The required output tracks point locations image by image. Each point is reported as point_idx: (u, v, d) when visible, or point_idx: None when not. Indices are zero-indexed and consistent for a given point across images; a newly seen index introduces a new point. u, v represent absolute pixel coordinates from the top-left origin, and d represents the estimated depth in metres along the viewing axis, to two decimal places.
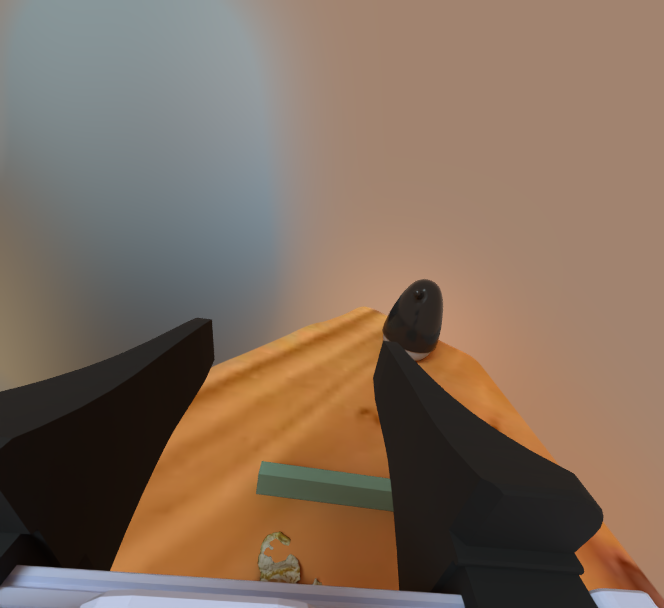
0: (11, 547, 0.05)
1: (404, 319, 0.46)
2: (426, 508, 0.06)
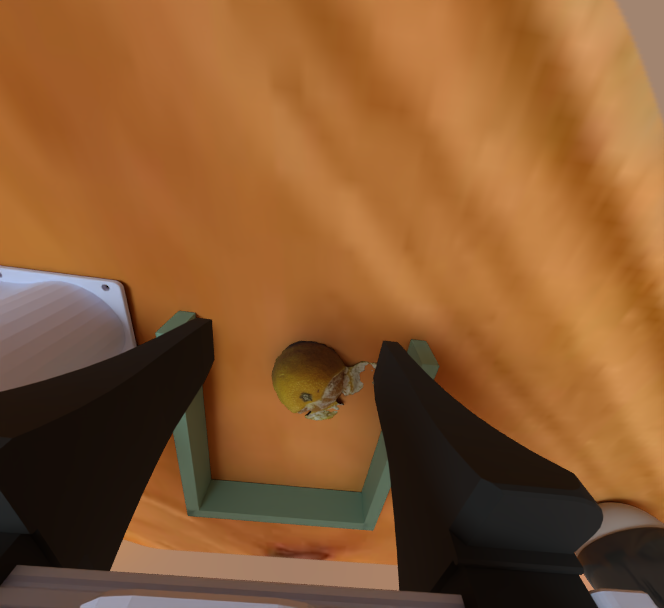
0: (11, 547, 0.05)
1: None
2: (426, 508, 0.06)
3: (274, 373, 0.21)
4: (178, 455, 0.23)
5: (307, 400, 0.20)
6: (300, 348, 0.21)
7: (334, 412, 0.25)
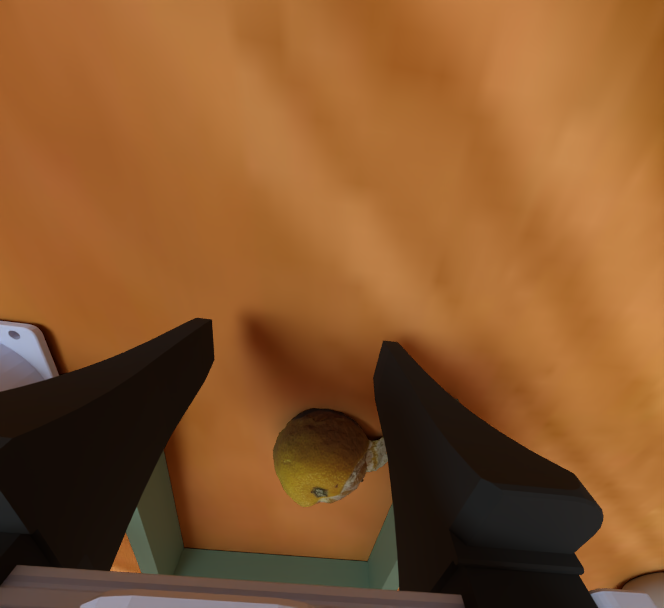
0: (11, 547, 0.05)
1: None
2: (426, 508, 0.06)
3: (277, 454, 0.16)
4: (131, 542, 0.18)
5: (320, 496, 0.15)
6: (311, 421, 0.16)
7: None
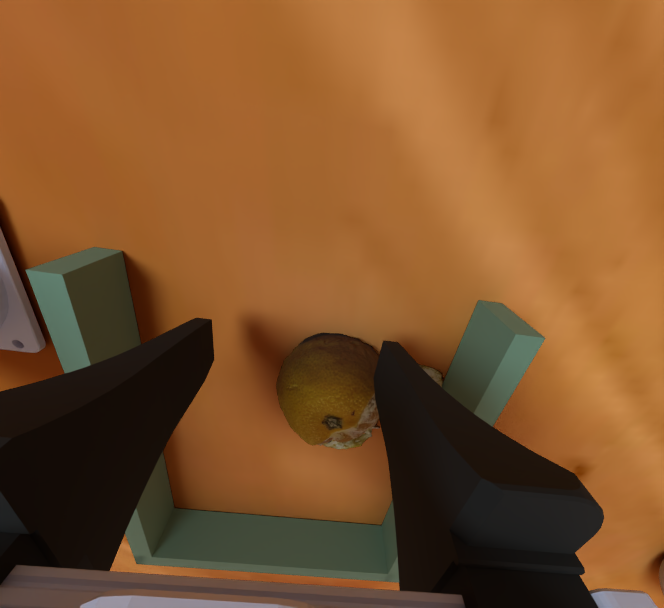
0: (11, 547, 0.05)
1: None
2: (427, 508, 0.06)
3: (281, 383, 0.13)
4: None
5: (334, 428, 0.12)
6: (322, 343, 0.13)
7: (364, 437, 0.17)
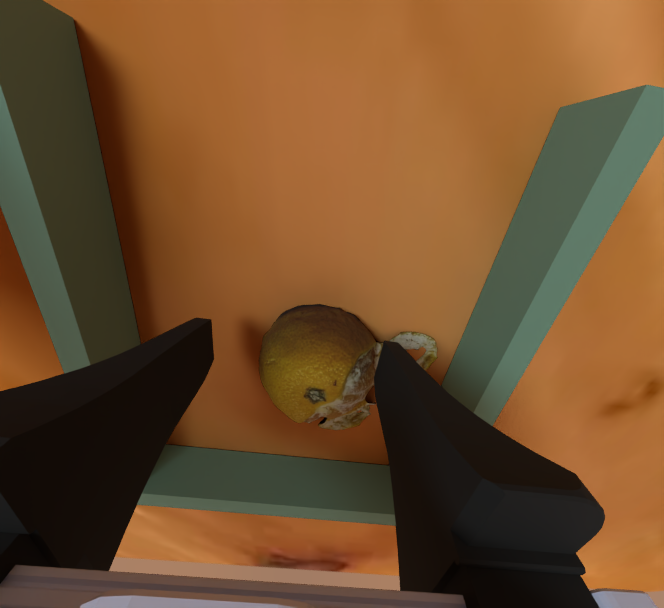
0: (10, 547, 0.05)
1: None
2: (427, 508, 0.06)
3: (260, 360, 0.13)
4: None
5: (317, 401, 0.12)
6: (299, 315, 0.12)
7: (362, 416, 0.17)
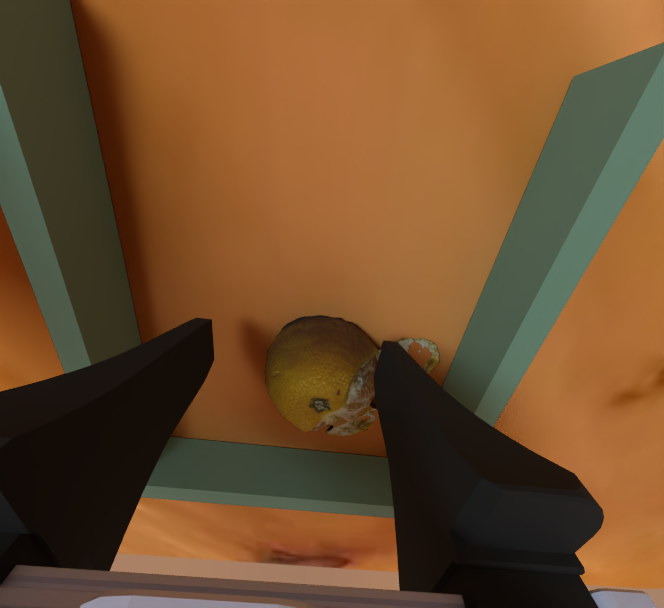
0: (11, 547, 0.05)
1: None
2: (426, 508, 0.06)
3: (266, 372, 0.13)
4: (63, 360, 0.11)
5: (322, 410, 0.12)
6: (301, 327, 0.13)
7: (369, 421, 0.17)
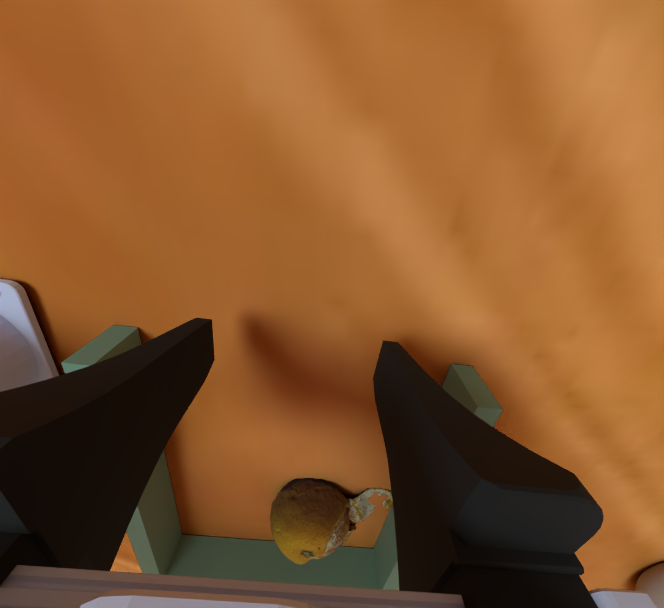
0: (11, 547, 0.05)
1: None
2: (426, 508, 0.06)
3: (271, 523, 0.19)
4: None
5: (309, 556, 0.18)
6: (294, 493, 0.19)
7: (348, 533, 0.23)
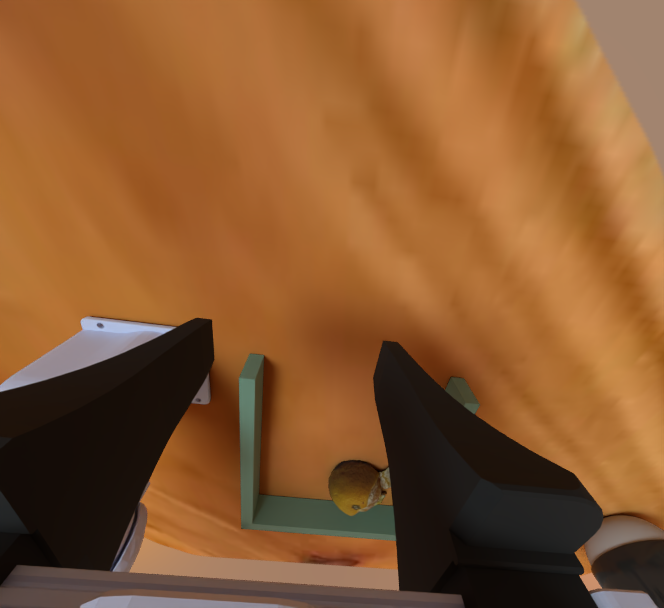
0: (11, 547, 0.05)
1: None
2: (426, 508, 0.06)
3: (330, 490, 0.29)
4: (241, 477, 0.26)
5: (357, 509, 0.28)
6: (343, 470, 0.29)
7: (381, 498, 0.33)
